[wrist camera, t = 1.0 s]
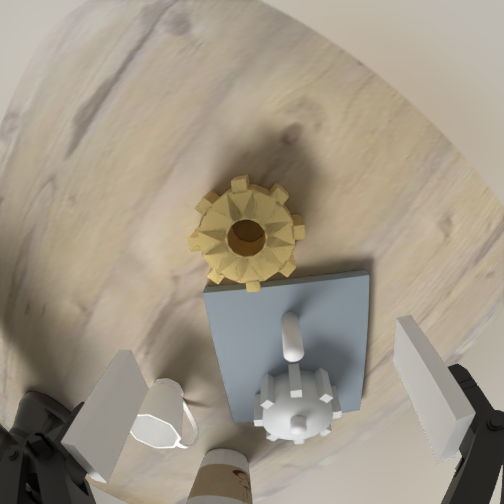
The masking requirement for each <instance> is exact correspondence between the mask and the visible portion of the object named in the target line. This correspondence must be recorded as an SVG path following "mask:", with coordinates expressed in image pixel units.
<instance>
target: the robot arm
mask: <svg viewBox="0 0 504 504" xmlns="http://www.w3.org/2000/svg"><path fill="white" fill-rule="evenodd" d="M393 364H394V366H395V368H396V370H397V372H398V374H399V376H400V378H401V381H402V383H403V385H404V387H405V389H406V391H407V393H408V396H409V398H410V400H411V402H412V404H413V406H414V409H415V411H416V413H417V416H418V418H419V420H420V423H421V425H422V427H423V430H424V432H425V434H426V437H427V439H428V441H429V444H430V446H431V449H432V451H433V454H434V456H435V459H436V461H437V463H441V462H444V461H446V460H449V459H451V458H454V457H455V456H456V454H457V452H458V450H460V452H461V455H462V458H461V459H460V461H459V463H458V465H457V466H456V468H455V469H456V472H455V474H454V476H453V479H452V481H451V483H450V486H449V488H448V490H447V492H446V494H445V496H444V498H443V500H442V503H441V504H489V503H490V500H491V497H492V494H493V491H494V488H495V485H496V482H497V479H498V476H499V473H500V469H501V466H502V465H503V475H502V491H501V501H500V504H504V412H502V411H500V410H494V409H493V407H492V406H491V404H490V403H489V401H488V400H487V398H486V397H485V395H484V394H483V392H482V391H481V389H480V388H479V386H477V383H476V382H475V381H474V379H473V378H472V377H471V375H470V373H469V372H468V370H467V369H465V368H464V367H462V366H461V365H459V364H455V365H452V366H449V367H447V366H446V365H445V363H444V362H443V360H442V359H441V357H440V356H439V354H438V353H437V351H436V350H435V348H434V347H433V345H432V344H431V343H430V341H429V340H428V338H427V337H426V335H425V334H424V333H423V331H422V330H421V328H420V327H419V326H418V324H417V323H416V321H415V320H414V319H413V317H412V316H411V315H408V316H404V317H399V318H396V333H395V346H394V358H393ZM148 390H149V388H148V386H147V384H146V382H145V380H144V378H143V376H142V373H141V371H140V369H139V367H138V365H137V362H136V360H135V358H134V356H133V353H132V351H131V350H119V351H118V353H117V354H116V356H115V357H114V359H113V360H112V362H111V363H110V365H109V366H108V368H107V369H106V371H105V372H104V374H103V375H102V377H101V378H100V380H99V381H98V383H97V384H96V386H95V388H94V389H93V391H92V392H91V394H90V395H89V397H88V399H87V400H86V402H81V403H80V404H79V405H78V406H77V407H75V408H74V410H73V411H72V413H70V412H69V411H68V410H67V409H66V408H64V407H63V406H62V405H60V404H59V403H58V402H56V401H55V400H53V399H51V398H50V397H48V396H46V395H44V394H41V393H38V392H27V393H26V394H25V395H24V396H23V398H22V399H21V400H20V402H19V408H18V411H17V414H16V417H15V421H14V424H13V427H12V428H11V429H10V431H9V432H8V431H7V430H6V429H5V428H4V427H3V426H2V425H1V424H0V504H96V502H95V499H94V497H93V494H92V492H91V489H90V486H89V483H88V481H87V480H86V479H85V476H86V474H87V473H88V474H89V476H90V477H91V478H92V479H93V480H95V481H99V482H104V483H108V481H109V479H110V476H111V474H112V472H113V469H114V467H115V465H116V462H117V460H118V458H119V455H120V453H121V451H122V448H123V446H124V444H125V441H126V439H127V437H128V435H129V432H130V430H131V428H132V426H133V423H134V421H135V419H136V417H137V414H138V412H139V410H140V408H141V406H142V403H143V401H144V399H145V397H146V395H147V392H148Z"/></svg>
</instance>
